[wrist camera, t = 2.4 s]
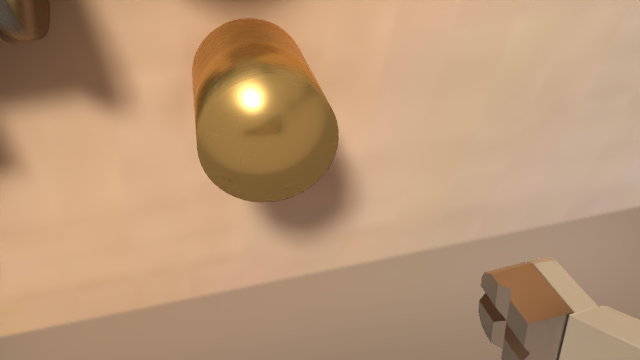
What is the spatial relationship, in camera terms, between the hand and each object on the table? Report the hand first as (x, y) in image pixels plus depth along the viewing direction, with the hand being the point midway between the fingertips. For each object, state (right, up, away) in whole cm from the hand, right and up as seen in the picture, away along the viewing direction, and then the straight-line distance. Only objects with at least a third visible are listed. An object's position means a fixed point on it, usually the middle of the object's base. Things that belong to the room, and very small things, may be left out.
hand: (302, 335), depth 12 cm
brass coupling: (-3, +8, +11) cm, 14 cm away
